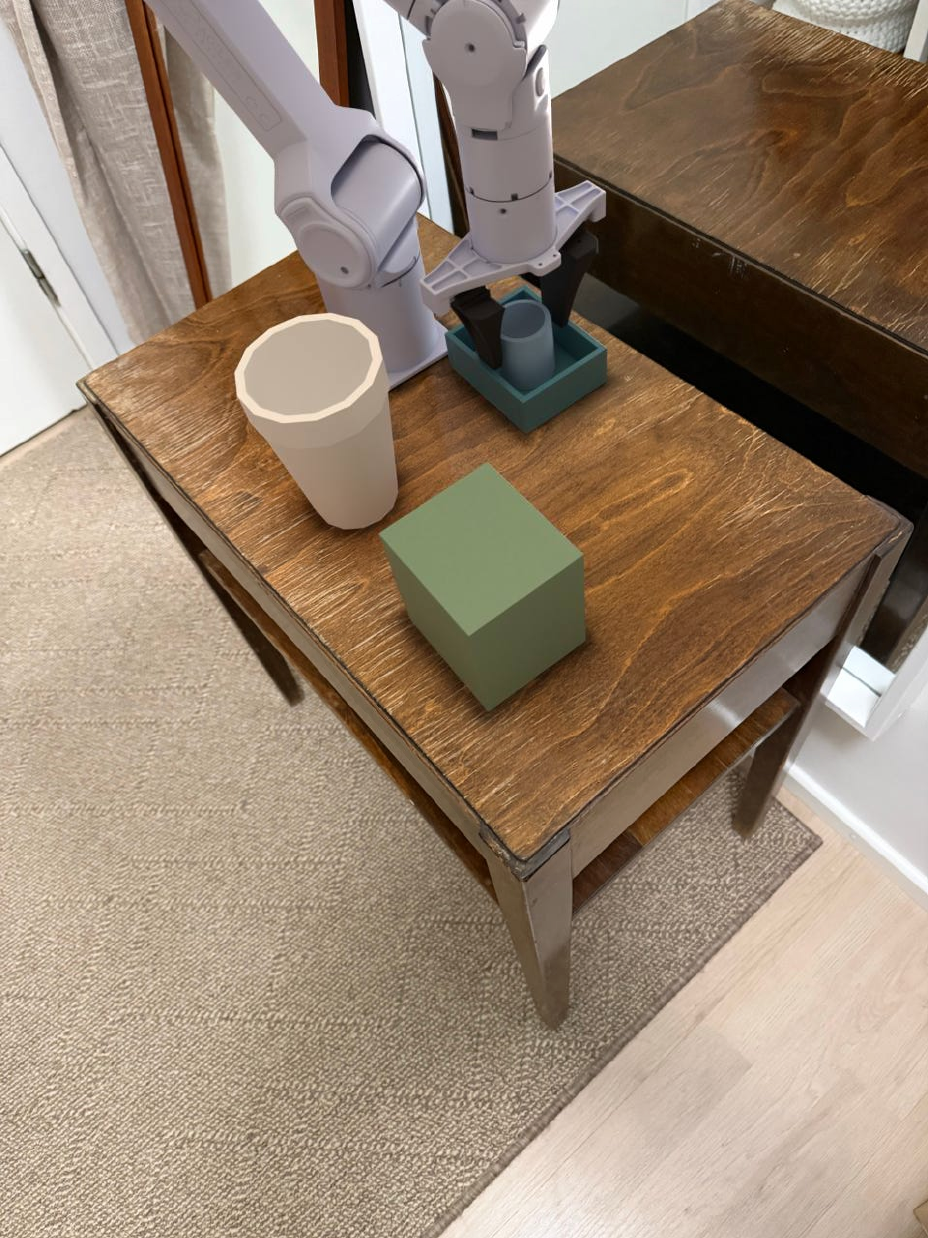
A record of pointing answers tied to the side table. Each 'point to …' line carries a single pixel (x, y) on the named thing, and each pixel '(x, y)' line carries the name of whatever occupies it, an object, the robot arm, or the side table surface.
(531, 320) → the blue cup
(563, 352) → the bin
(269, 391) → the foam cup
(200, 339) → the side table surface
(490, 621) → the sage green cube
